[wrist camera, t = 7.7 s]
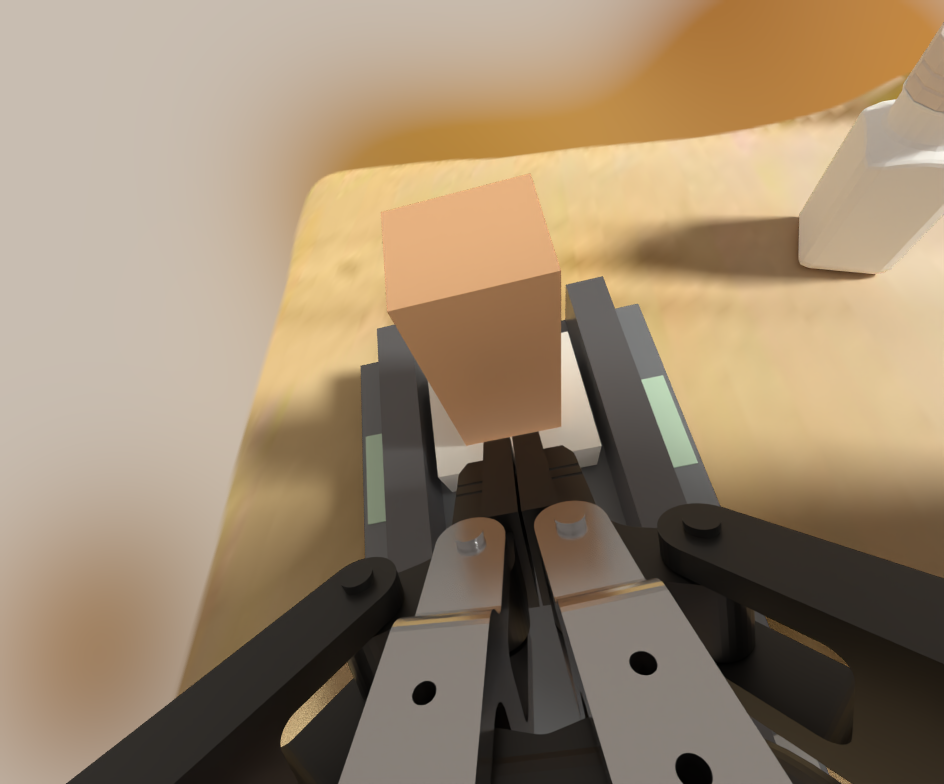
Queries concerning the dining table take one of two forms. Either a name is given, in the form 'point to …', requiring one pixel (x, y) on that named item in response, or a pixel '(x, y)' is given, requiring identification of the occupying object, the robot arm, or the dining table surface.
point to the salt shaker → (882, 179)
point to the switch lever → (486, 322)
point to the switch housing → (610, 481)
